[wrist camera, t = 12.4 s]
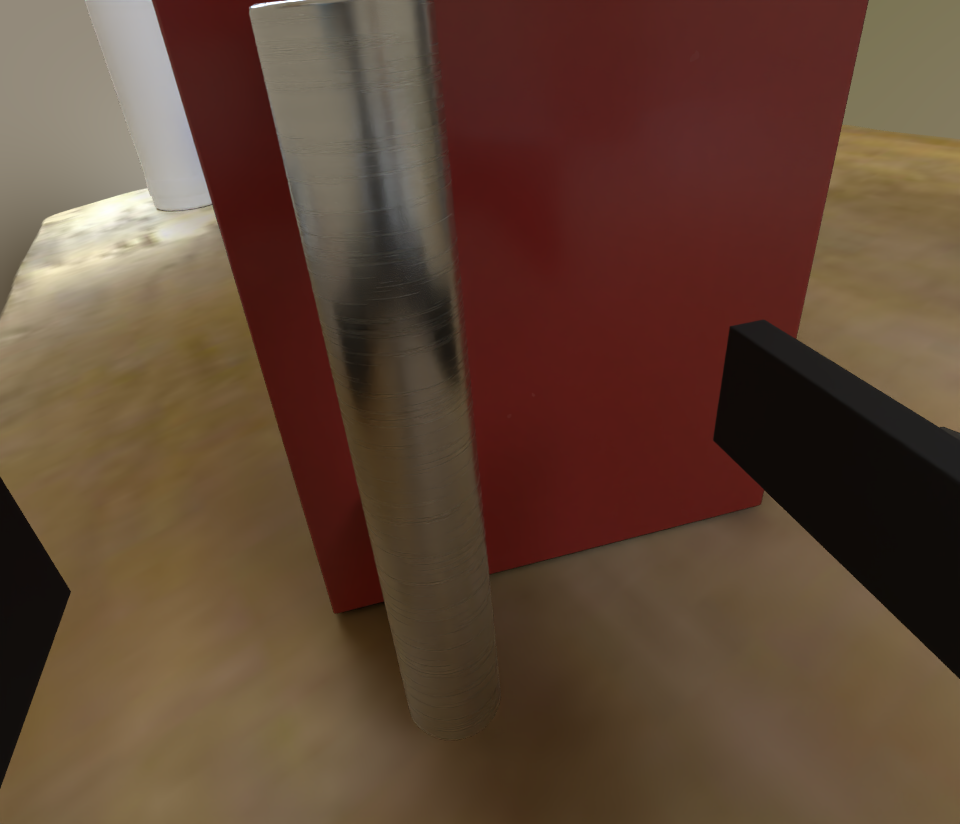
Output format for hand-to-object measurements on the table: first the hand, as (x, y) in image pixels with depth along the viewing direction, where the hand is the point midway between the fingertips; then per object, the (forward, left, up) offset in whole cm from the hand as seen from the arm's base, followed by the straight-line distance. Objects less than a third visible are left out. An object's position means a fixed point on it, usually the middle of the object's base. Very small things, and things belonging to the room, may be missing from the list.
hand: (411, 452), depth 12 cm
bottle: (+67, -29, -10) cm, 73 cm away
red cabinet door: (-1, -6, -10) cm, 11 cm away
